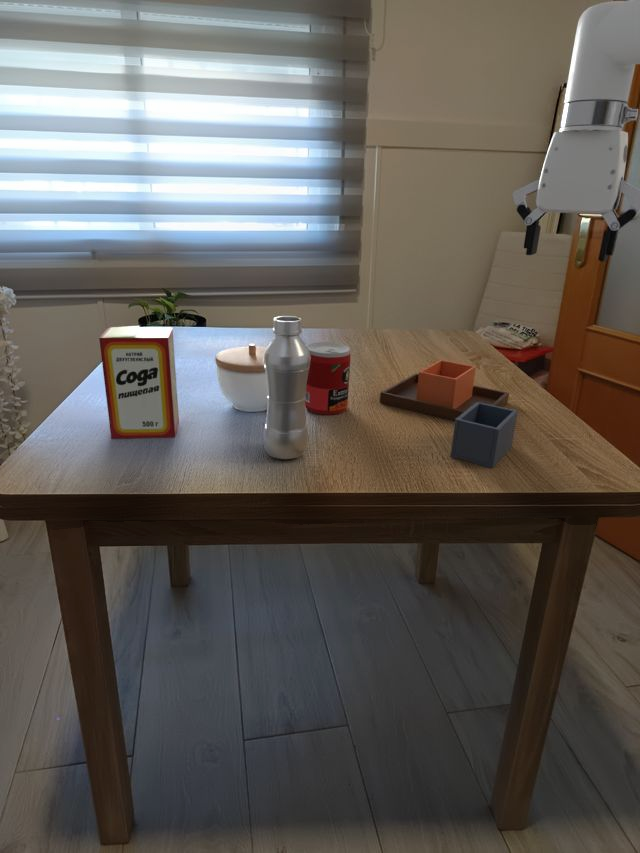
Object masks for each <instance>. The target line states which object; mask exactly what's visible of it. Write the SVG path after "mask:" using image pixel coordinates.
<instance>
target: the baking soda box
mask: <svg viewBox="0 0 640 853" xmlns="http://www.w3.org/2000/svg"><path fill="white" fill-rule="evenodd" d="M173 330H174V328H173V327H170V326H167V327H166V326H165V327H164V326H163V327H162V326H152V327H151V326H141V325H128V326H127V325H126V326H110V327H108V328H106V329H105V331H104V332H103V333H102V334H101V336H99V337H98V339H99V347H100V348H99V349H100V356H101V364H102V374H103V381H104V389H105V398H106V406H107V414H108V422H109V423H108V424H109V432H110V439H111V440H116V439H119V440H120V439H155V438H176V436H177V432H178V427H179V424H180V423H179V422H180V417H179V401H178V389H177V387H178V385H177V374H176V359H175V344H174V331H173Z"/></svg>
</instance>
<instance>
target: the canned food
mask: <svg viewBox="0 0 640 853" xmlns="http://www.w3.org/2000/svg"><path fill="white" fill-rule="evenodd" d="M306 346H307V348H308V350H309V352H310V356H311V360H310V367H309V373H308V379H307V386H306V394H305V396H306V398H305V410H308V411H309V412H311V413H313V414H317V415H323V416H333V415H338V414H342V413H345V411H346V410H347V408H348V405H349V388H350V371H351V354H352V352H351V348H350V347H349V346H348V345H346V344H343V343H338V342H331V341H330V342H329V341H321V342H320V341H319V342H311V343H309V344H306Z"/></svg>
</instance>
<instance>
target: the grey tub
mask: <svg viewBox="0 0 640 853" xmlns="http://www.w3.org/2000/svg"><path fill="white" fill-rule="evenodd" d="M518 413H519V410H516V409H511V408H507V407H504V406H503V407H498V406H494V405H489V404H485V403H480V402H477V403H475V404H474V405H473V406H472V407H470V408H469V409H468V410H467V411H465V412H464V413H463V414H462V415H460V416H459V417H458V418H457V419H455V421H454V427H453V433H452V434H453V435H452V443H451V450H450V457H451V458H454V459H458V460H462V461H465V462H469V463H472V464H476V465H479V466H484V467H486V468H491V469H493V468H494V467H495V466H496V465H497V464H498V463H499V462H500V460H502V458H503V457H504V456H505V455H506V454H507V453H508V451H509V450H511V448H512V447H513V442H514V436H515V431H516V425H517V418H518Z"/></svg>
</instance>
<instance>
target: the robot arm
mask: <svg viewBox="0 0 640 853" xmlns="http://www.w3.org/2000/svg"><path fill="white" fill-rule="evenodd" d="M636 65H640V0H611V1H604V2H601V3H600V2H599V3H597V4H593V5H591V6H590V7H587V9H585V10H584V11H583V12H582V14H581V15H580V16H579V19H578V22H577V26H576V31H575V36H574V43H573V49H572V54H571V59H570V65H569V72H568V76H567V82H566V89H565V94H564V100H563V106H562V113H561V118H560V124H559V130H558V131H555V132H553V134H552V137H551V140H550V141H549V142H550V143H549V145H548V147H547V148H548V149H547V152H546V155H545V158H544V162H543V166H542V168H541V169H542V170H541V173H540V177H539V178H538V179H536V180H534V181H532V182H530V183H528V184H525V185H523V186H522V187H520V188H517V189H515V190H514V191H513V192H512V193H511V194H512V196H511V197H512V199H513V202H514V205H515V208H516V212H517V214H518V215H519V216H520V217H521V219H522V220H523V222H524V224H525V225H526V230H525V236H524V241H523V242H524V243H523V249H525V250H526V252H525V255H526V256H533V255H535V254H537V252H538V246H539V240H540V235H541V229H542V227H541V225H540V221H541V220H542V219H543V218H544V217H545V216H546V215H547V214H548V213H561V214H583V215H601V216H602V219H603V220H604V221H605V223H606V224H607V228H606V230H604V231H603V235H602V240H601V244H600V248H599V253H598V259H597V260H598V261H599V262H602V263H603V262H606V261H607V260H608V258H609V256H613V255H614V252H615V248H616V243H617V240H618V239H617V238H618V235H619V230H621V229H622V228H623V227H624V226H626V225H627V224H629V222H631V221H632V220H634V219H635V218H636V217H637V216H638V215H639V213H640V189H639V188H637V187H635V186H633V185H632V184H630V183H628V182H627V181H625V180H624V178H625V172H626V165H627V158H628V148H629V145H628V144H629V132H627V131H623V128H624V126H625V125H626V124H627V123H630V122H636V121H637V119H638V116H639V108H632V107H630V106H629V105H628V102H629V97H630V93H631V88H632V83H633V78H634V73H635V68H636ZM534 193H536V199H535V206H536V208H534V209H533V210H531V208H530V207H529V206H528V204H527V199H526V198H527V197H528V196H530V195H531V194H534ZM622 194H623V195H625V196H626V197H628V198H630V199H631V200H632V204H631V206H630V207H629V209H627V211H625V212H624V213H622V214H621V215H620V216H619V215H618V213H617V212H616V210H617V209H618V208H619V207H618V206H619V205H620V204H619V203H620V200H621V195H622Z"/></svg>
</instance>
